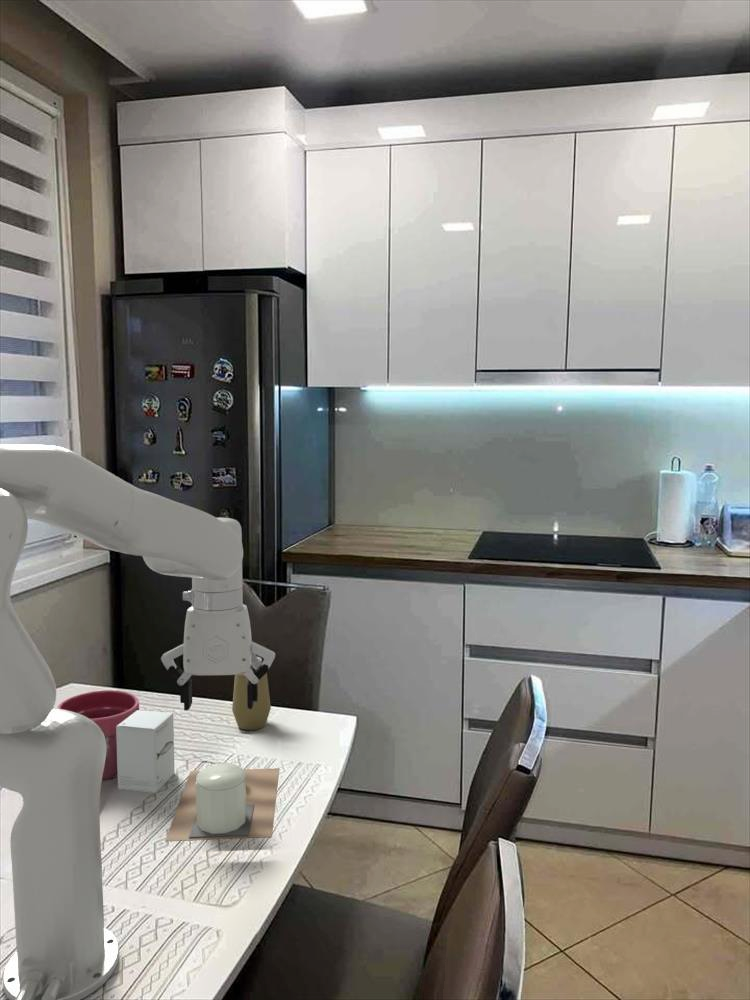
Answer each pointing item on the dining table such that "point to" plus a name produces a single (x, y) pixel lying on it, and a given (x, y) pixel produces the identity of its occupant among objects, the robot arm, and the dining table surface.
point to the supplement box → (145, 751)
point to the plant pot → (105, 718)
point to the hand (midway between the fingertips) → (219, 706)
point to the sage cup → (221, 798)
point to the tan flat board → (257, 809)
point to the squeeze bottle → (261, 707)
